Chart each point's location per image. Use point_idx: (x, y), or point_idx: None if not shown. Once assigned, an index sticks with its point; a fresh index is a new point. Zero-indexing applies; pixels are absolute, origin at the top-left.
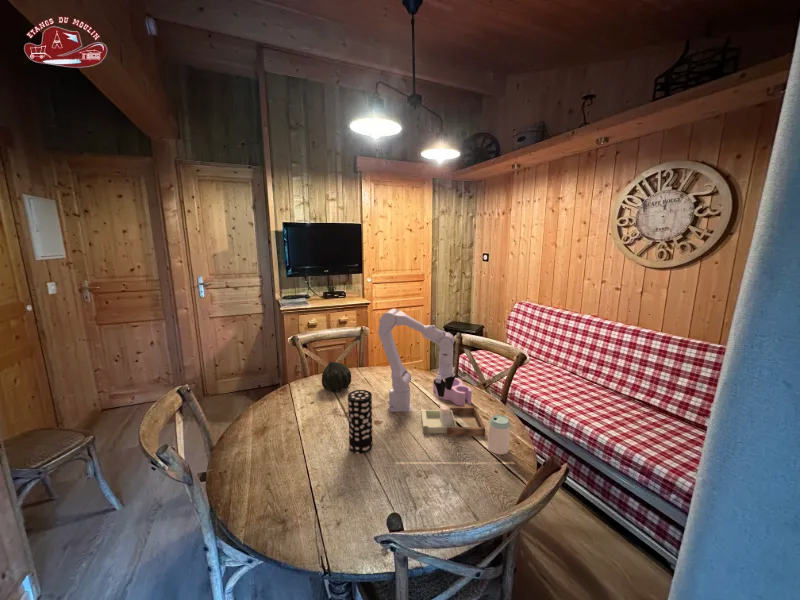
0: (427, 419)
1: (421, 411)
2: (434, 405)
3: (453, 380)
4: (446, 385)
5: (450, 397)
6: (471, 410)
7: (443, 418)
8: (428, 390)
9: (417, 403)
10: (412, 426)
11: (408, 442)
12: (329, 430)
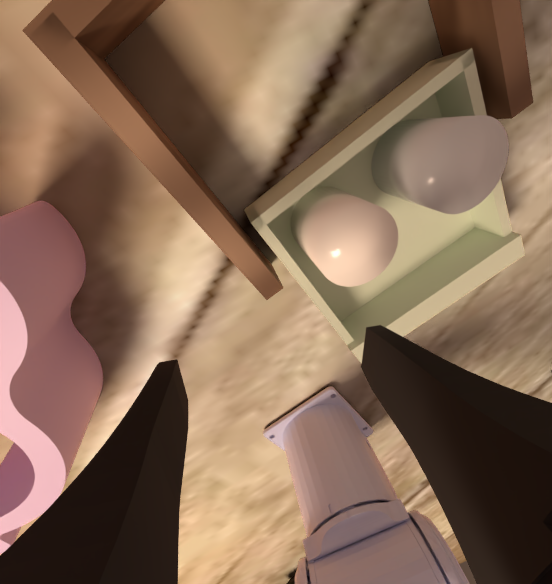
0: (366, 295)
1: None
2: (196, 355)
3: (111, 483)
4: (183, 440)
5: (57, 340)
6: (104, 68)
7: (497, 178)
8: (72, 464)
9: (239, 413)
10: None
11: (547, 252)
12: None
